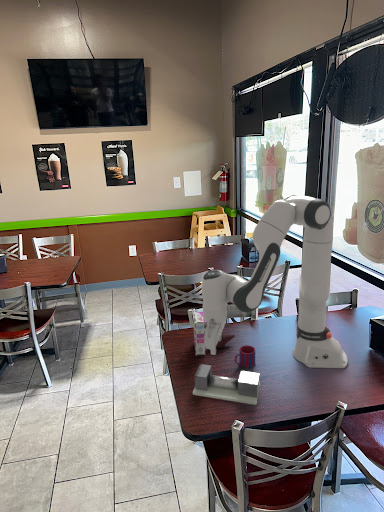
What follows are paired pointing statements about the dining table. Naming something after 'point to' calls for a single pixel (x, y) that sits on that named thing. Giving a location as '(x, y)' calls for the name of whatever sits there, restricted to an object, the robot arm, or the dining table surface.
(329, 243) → the robot arm
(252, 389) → the dark grey cube cap
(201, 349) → the candy bar box
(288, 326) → the dining table surface
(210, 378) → the tube
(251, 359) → the mug
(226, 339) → the icecream
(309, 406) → the dining table surface
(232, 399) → the board
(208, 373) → the socket
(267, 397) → the dining table surface
